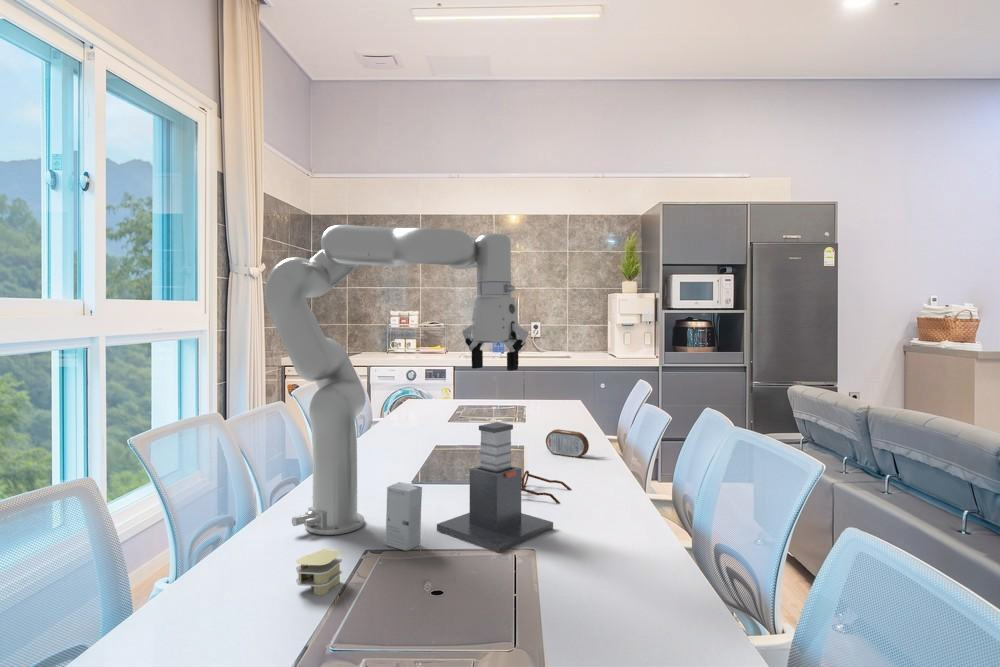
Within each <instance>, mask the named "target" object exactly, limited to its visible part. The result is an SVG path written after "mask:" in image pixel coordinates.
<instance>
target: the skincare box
mask: <svg viewBox="0 0 1000 667" xmlns="http://www.w3.org/2000/svg"><path fill="white" fill-rule="evenodd" d="M422 493H423V486H420V485H416V484H412V483H405V482H400V481H399V482H396V483H394V484H391V485H389V486H387V488H386V512H385V513H386V515H385V516H386V518H385V522H386V523H385V545H386V546H388V547H390V548H391V547H392V548H394V549H399V550H403V551H405V552H406V551H411V550H412V549H414V548H417V547H418V546H419V545H420V544H421V529H422V528H421V527H422V526H421V525H422V523H421V522H422V500H423V498H422V497H423V496H422V495H423V494H422Z"/></svg>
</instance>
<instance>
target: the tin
mask: <svg viewBox="0 0 1000 667" xmlns="http://www.w3.org/2000/svg"><path fill="white" fill-rule="evenodd" d="M545 445H546V449H547V450H548V451H549V452H550V453H551V454H553V455H557V456H561V457H568V458H574V457H575V458H576V459H577V458H581V457H584V456H585V455H586V454H587V453H588V451H589V448H590V443H589V440H588V438H587V437H586V436H585V435H584V433H582V432H579V431H574V430H565V429H557V428H556V429H554V430H552V431H550V432H549V433H548V434H547V435H546V438H545Z"/></svg>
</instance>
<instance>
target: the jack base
mask: <svg viewBox="0 0 1000 667" xmlns="http://www.w3.org/2000/svg"><path fill="white" fill-rule="evenodd" d="M522 472H523V471H522V468H521V467H517V466H514V465H513V466H512V465H511V470H508V471H504V472H501V473H498V474H496V473H492V472H488V471H484V470H481V465H479V466H475V467H472V468H469V512H468V513H465V514H461V515H459V516H456V517H453V518H451V519H447V520H445V521H441V522H439V523H436V531H437V532H438V533H442V534H444V535H447V536H449V537H453V538H456V539H459V540H461V541H465V542H467V543H471V544H473V545H476V546H479V547H481V548H484V549H487V550H490V551H493V552H495V551H496V552H495V553H498V552H500V553H501V551H502V552H504V551H506V550H508V549H511V548H513V547H516V546H517V545H520V544H522V543H525V542H526V541H530V540H532V539H533V538H536V537H538V536H540V535H543V534H545V533H547V532H549V531H550V532H551V530H554V522H553V521H550V520H546V519H544V518H540V517H536V516H533V515H530V514H525V513H523V512H522V491H521V488H522V486H521V485H522V481H521V479H522V478H523V476H522V475H523V473H522Z"/></svg>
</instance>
